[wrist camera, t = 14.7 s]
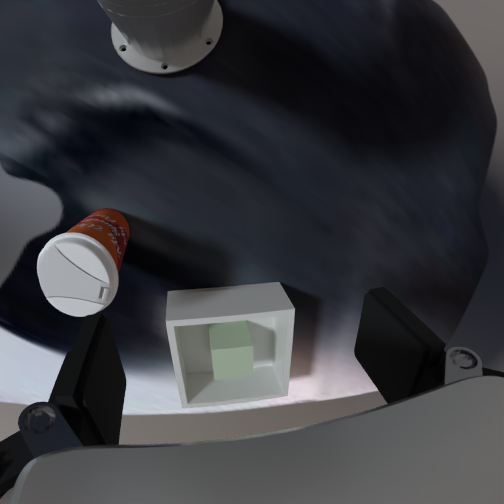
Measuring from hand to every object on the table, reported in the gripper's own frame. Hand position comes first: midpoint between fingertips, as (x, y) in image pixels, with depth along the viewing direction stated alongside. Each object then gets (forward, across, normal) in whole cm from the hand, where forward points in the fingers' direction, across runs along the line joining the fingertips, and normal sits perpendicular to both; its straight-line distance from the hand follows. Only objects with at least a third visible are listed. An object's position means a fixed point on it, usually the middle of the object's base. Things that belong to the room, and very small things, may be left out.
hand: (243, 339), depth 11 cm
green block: (+28, -2, +20) cm, 34 cm away
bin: (+28, -2, +20) cm, 35 cm away
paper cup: (+28, +12, +4) cm, 31 cm away
